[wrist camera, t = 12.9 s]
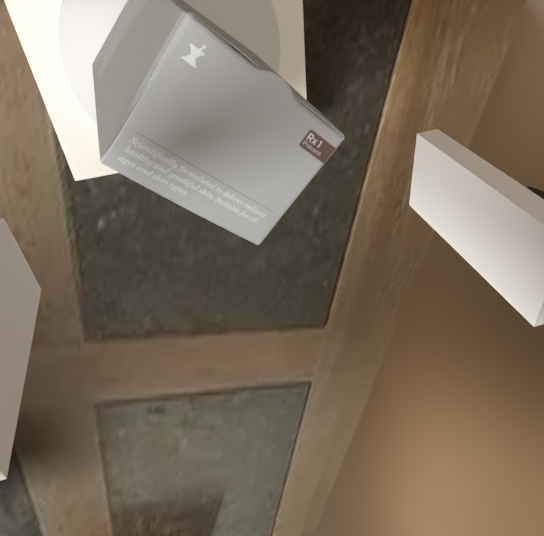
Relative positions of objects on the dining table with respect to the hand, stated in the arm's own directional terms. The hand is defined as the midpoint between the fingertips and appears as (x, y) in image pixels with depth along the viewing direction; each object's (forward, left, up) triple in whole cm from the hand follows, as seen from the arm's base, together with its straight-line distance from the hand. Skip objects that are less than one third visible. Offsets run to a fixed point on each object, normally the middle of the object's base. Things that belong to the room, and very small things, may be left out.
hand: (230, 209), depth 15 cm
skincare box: (0, 0, -20) cm, 20 cm away
